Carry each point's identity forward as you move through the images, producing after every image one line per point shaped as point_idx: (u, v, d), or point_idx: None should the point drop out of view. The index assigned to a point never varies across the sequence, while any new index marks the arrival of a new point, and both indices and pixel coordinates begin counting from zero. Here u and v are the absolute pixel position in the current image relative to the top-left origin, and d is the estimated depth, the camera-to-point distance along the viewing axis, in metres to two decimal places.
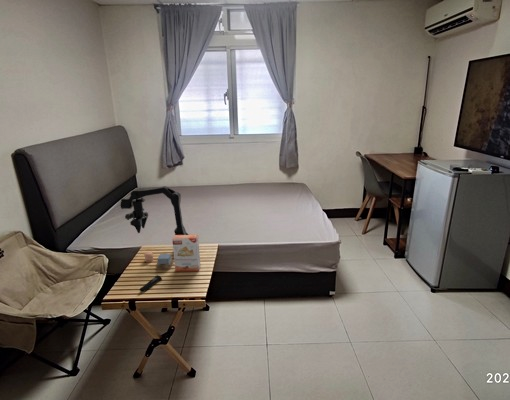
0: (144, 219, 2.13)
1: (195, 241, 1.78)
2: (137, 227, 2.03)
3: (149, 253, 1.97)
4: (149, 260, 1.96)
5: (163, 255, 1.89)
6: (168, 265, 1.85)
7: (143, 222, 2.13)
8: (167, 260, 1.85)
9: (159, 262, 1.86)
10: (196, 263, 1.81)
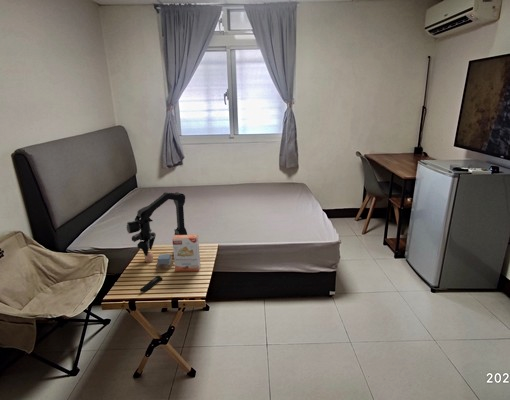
0: (151, 240, 2.00)
1: (195, 241, 1.78)
2: (144, 250, 1.90)
3: (149, 253, 1.97)
4: (149, 260, 1.96)
5: (163, 256, 1.88)
6: (168, 265, 1.85)
7: (150, 243, 2.00)
8: (167, 260, 1.85)
9: (159, 262, 1.85)
10: (196, 263, 1.81)
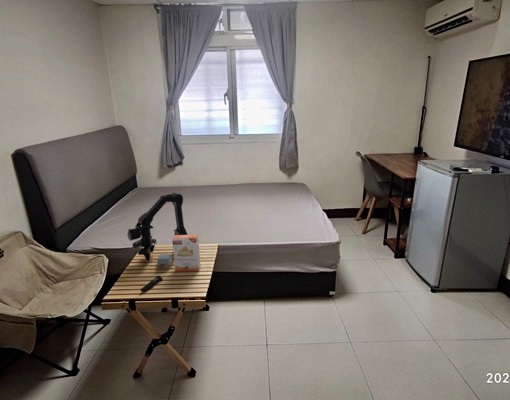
0: (151, 248, 1.99)
1: (195, 241, 1.78)
2: (146, 255, 1.93)
3: None
4: (149, 260, 1.96)
5: (163, 256, 1.88)
6: (168, 265, 1.85)
7: (150, 251, 2.00)
8: (167, 260, 1.85)
9: (159, 262, 1.85)
10: (196, 263, 1.81)
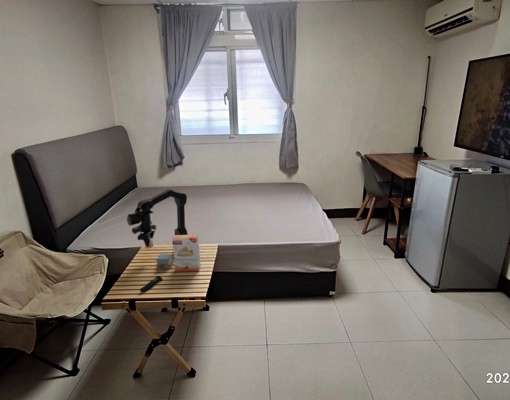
0: (151, 233, 1.96)
1: (195, 241, 1.78)
2: (146, 241, 1.90)
3: None
4: (149, 246, 1.92)
5: (162, 256, 1.88)
6: (168, 265, 1.85)
7: None
8: (166, 260, 1.85)
9: (158, 262, 1.85)
10: (196, 263, 1.81)
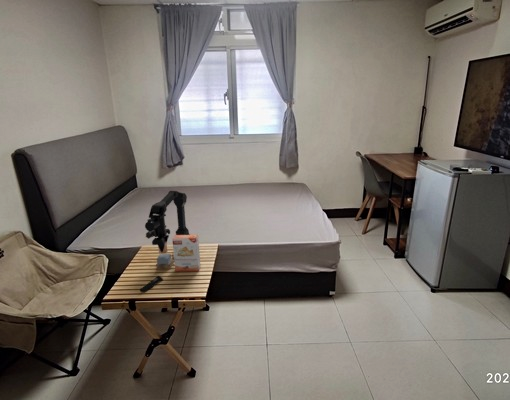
0: (165, 238, 1.88)
1: (195, 241, 1.78)
2: (160, 245, 1.82)
3: None
4: (163, 251, 1.85)
5: (163, 256, 1.89)
6: (168, 265, 1.86)
7: (164, 241, 1.89)
8: (166, 260, 1.85)
9: (158, 262, 1.86)
10: (196, 263, 1.81)
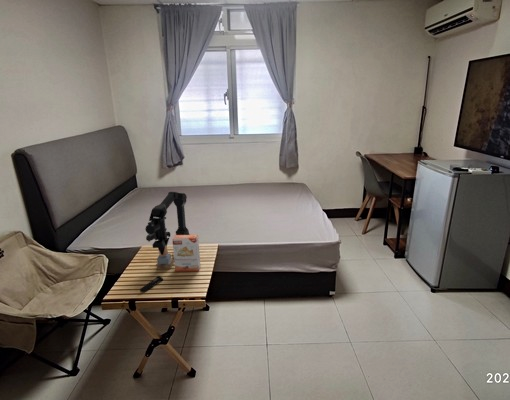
0: (165, 241, 1.89)
1: (195, 241, 1.78)
2: (160, 248, 1.83)
3: None
4: (163, 254, 1.85)
5: None
6: (168, 265, 1.86)
7: (164, 244, 1.89)
8: (167, 260, 1.86)
9: (159, 262, 1.86)
10: (196, 263, 1.81)
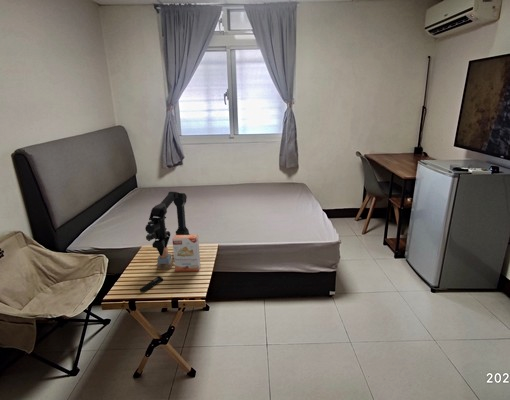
0: (166, 239, 1.91)
1: (195, 241, 1.78)
2: (159, 249, 1.81)
3: (164, 248, 1.87)
4: (164, 256, 1.86)
5: None
6: (169, 265, 1.86)
7: (165, 242, 1.91)
8: (167, 260, 1.86)
9: (159, 262, 1.86)
10: (196, 263, 1.81)
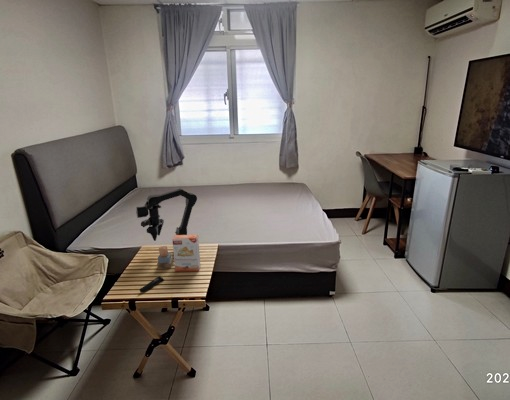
0: (160, 226, 2.06)
1: (195, 241, 1.78)
2: (153, 235, 1.96)
3: (164, 247, 1.87)
4: (164, 255, 1.86)
5: None
6: (169, 264, 1.86)
7: (159, 229, 2.06)
8: (167, 259, 1.87)
9: (159, 261, 1.87)
10: (196, 263, 1.81)
